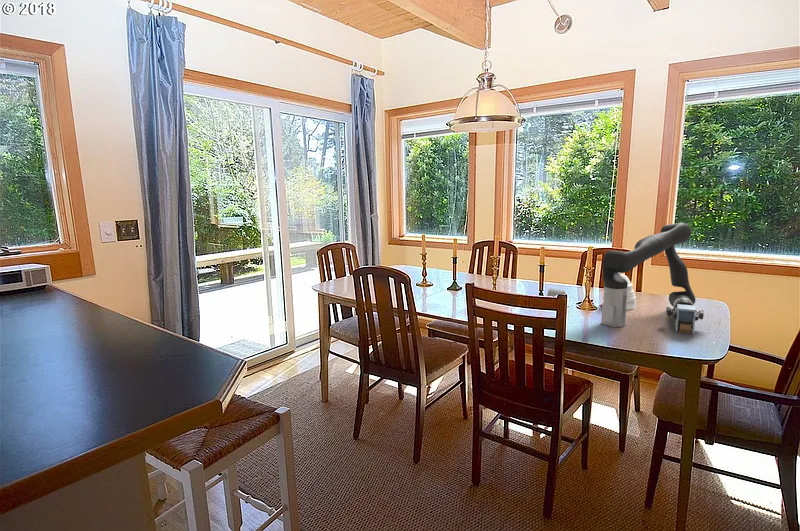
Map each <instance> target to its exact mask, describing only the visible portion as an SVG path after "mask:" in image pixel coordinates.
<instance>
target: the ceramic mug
mask: <svg viewBox="0 0 800 531" xmlns="http://www.w3.org/2000/svg"><path fill="white" fill-rule="evenodd" d="M558 294H566V291H565V290H561V289H557V288H549V289H548V290H547V295H546V297H547V296H553V297H554V296H556V295H558Z"/></svg>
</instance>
